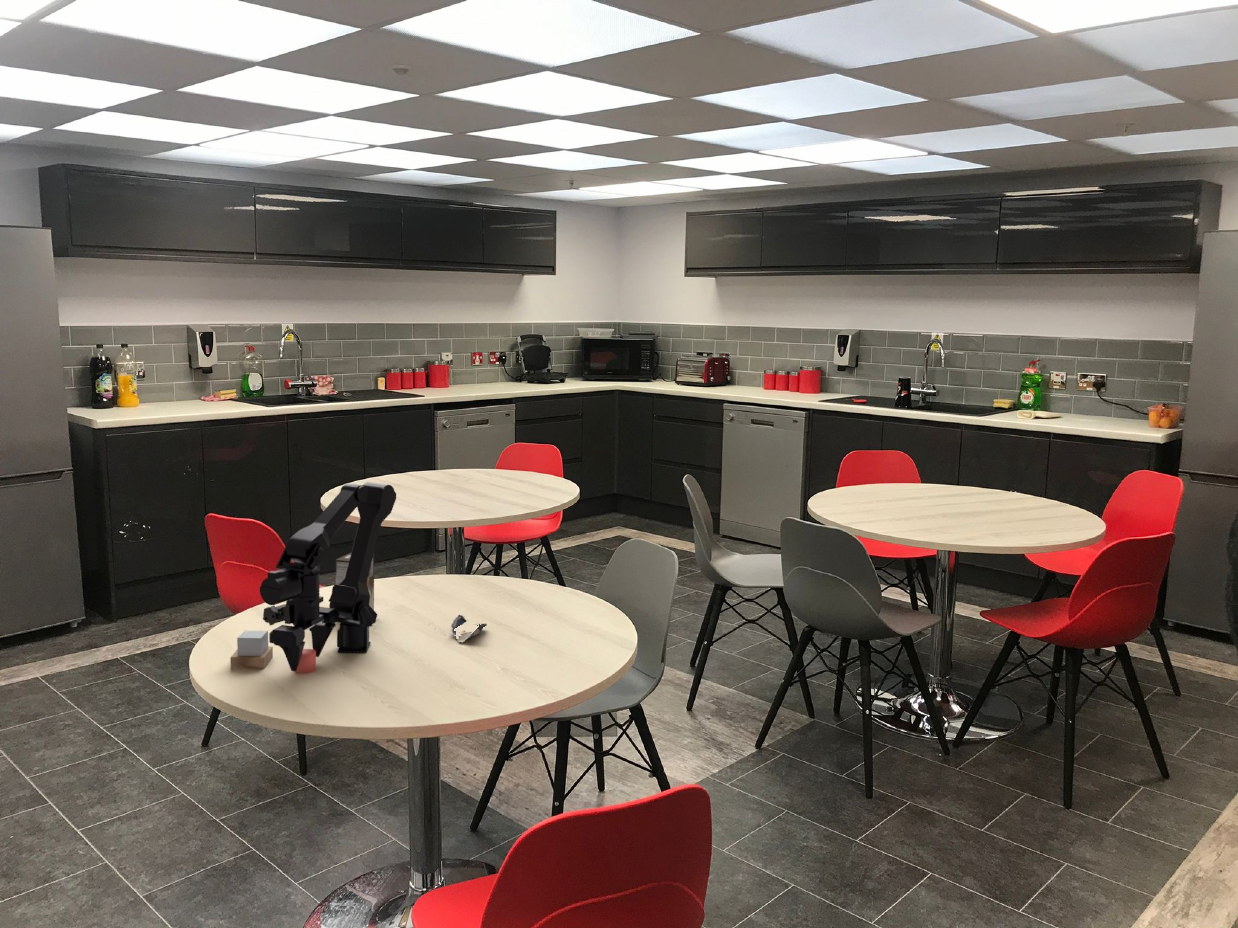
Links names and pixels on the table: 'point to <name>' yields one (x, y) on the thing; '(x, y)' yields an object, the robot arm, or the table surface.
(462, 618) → the snack package
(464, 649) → the table surface
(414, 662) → the table surface
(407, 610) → the table surface
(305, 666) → the red cylinder
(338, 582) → the coffee box
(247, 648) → the grey block
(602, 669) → the table surface
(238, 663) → the walnut slab
